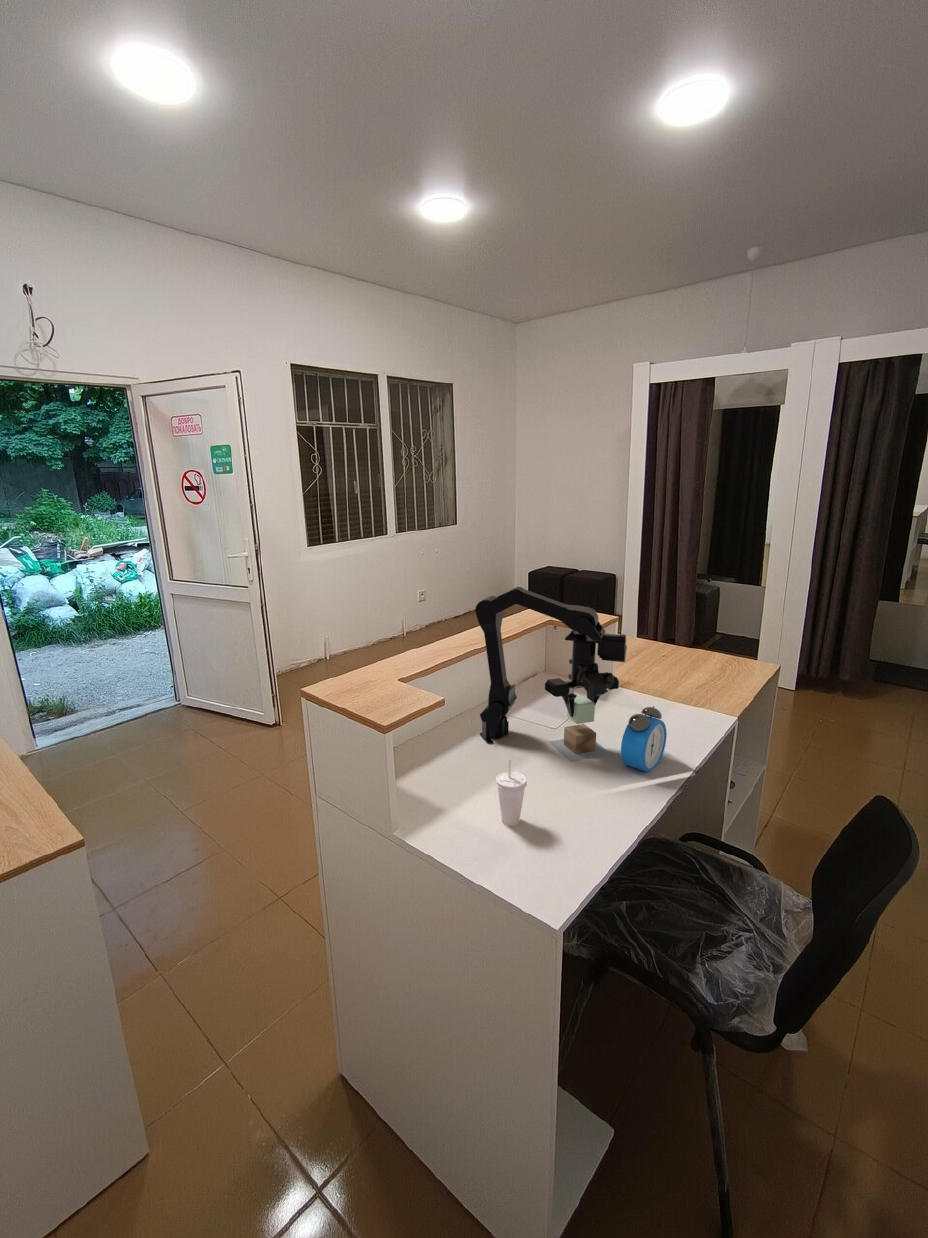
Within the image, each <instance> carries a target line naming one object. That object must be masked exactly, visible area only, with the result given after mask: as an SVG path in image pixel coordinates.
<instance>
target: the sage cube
mask: <svg viewBox="0 0 928 1238" xmlns="http://www.w3.org/2000/svg"><path fill="white" fill-rule="evenodd" d="M595 711H596V705H595V703H594V702H592V701H591V700H589V699H588V698H587V696H576V698H575V699H574V715H573V717H571V716H570V715H569V712H568V710H567V714H566V716H567V718H568V719H570V720H571V721H572V722H574V723H575V725H581V724H587V723H591V722H592V723H593V722H595Z"/></svg>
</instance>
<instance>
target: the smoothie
mask: <svg viewBox="0 0 928 1238" xmlns="http://www.w3.org/2000/svg"><path fill="white" fill-rule="evenodd" d="M511 763H512V759H511V757H508V758H507V771H505V772H501V773H499V774H498V775H496V777H495V785H496V786H497V794H498V801H499V808H500V816H501V823H502V824H503V825H504V826H508V827H515V826H517V825H518V824H519V823H520V820H521V816H522V815H521V813H522V808H523V803H524V795H525V788H526V787H527V785H528V782H527V779H528V778H526V776H525V775H524V774H522V773H520V772H517V771H516V772H515V771H511V766H512V764H511Z"/></svg>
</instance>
